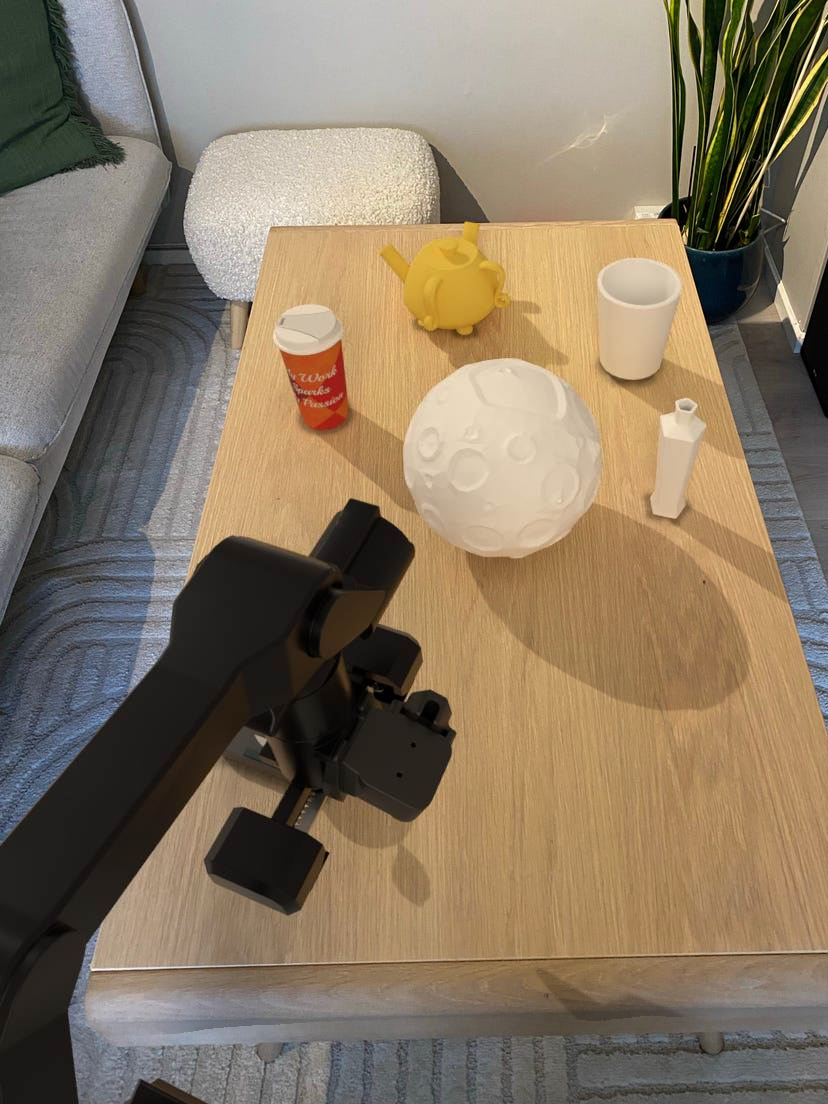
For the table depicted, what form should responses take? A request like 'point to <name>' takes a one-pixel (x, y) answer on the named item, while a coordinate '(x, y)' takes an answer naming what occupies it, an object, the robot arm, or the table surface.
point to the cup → (635, 315)
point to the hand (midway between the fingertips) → (341, 803)
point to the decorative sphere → (502, 458)
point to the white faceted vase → (676, 457)
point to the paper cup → (314, 363)
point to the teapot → (450, 282)
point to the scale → (251, 754)
